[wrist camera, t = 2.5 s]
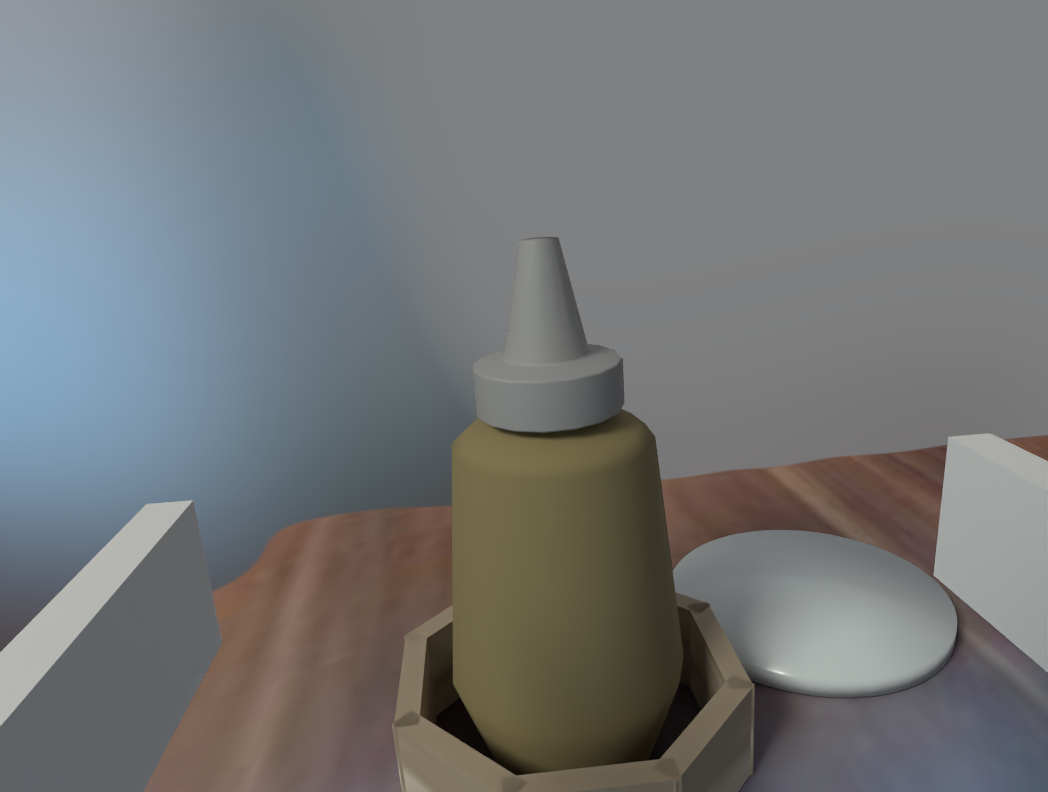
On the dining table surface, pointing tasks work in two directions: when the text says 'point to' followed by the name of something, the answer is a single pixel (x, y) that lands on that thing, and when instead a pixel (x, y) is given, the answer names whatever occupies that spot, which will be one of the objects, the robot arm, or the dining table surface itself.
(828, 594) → the ceramic coaster
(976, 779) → the dining table surface
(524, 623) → the squeeze bottle
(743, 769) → the birch collar
